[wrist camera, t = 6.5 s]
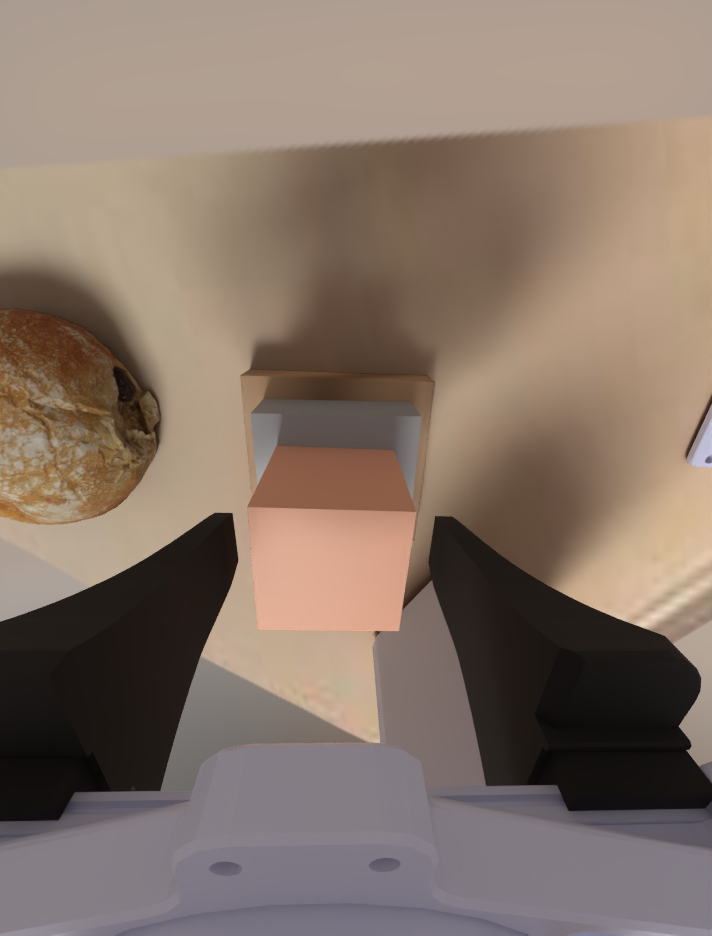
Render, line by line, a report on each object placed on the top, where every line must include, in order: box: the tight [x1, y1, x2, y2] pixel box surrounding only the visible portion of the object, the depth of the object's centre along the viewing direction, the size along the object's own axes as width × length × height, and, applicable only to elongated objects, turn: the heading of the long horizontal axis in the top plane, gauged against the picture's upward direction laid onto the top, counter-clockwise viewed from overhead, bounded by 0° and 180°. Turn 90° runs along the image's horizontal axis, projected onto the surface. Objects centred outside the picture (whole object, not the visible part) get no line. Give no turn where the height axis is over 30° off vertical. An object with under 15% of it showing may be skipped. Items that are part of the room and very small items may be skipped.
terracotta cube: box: [247, 446, 416, 631], centre depth 14 cm, size 5×5×5 cm
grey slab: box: [250, 399, 422, 500], centre depth 17 cm, size 7×7×2 cm
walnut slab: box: [240, 369, 435, 541], centre depth 19 cm, size 9×9×2 cm
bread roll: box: [0, 309, 160, 525], centre depth 16 cm, size 10×10×8 cm
